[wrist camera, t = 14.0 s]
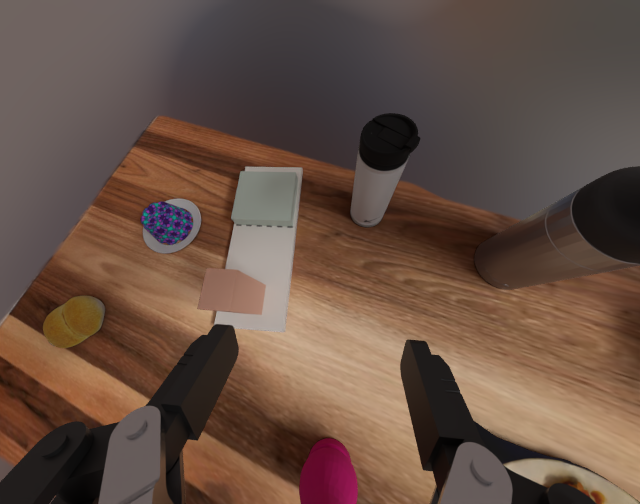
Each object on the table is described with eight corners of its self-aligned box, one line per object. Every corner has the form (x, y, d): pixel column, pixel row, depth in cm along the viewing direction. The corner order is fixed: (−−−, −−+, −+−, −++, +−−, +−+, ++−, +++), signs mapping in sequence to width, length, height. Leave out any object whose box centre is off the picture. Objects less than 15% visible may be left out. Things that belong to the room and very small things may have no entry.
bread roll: (114, 322, 41) (91, 322, 37) (67, 354, 40) (39, 358, 36) (99, 286, 43) (76, 282, 39) (55, 315, 42) (27, 314, 38)
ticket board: (247, 170, 49) (240, 158, 45) (302, 171, 48) (300, 159, 44) (217, 326, 39) (205, 326, 36) (285, 332, 38) (280, 332, 35)
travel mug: (371, 235, 42) (400, 163, 23) (343, 215, 44) (349, 132, 25) (391, 211, 43) (433, 124, 24) (363, 193, 45) (383, 98, 26)
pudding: (143, 210, 48) (121, 197, 43) (198, 193, 48) (182, 178, 43) (148, 262, 44) (123, 254, 39) (207, 243, 44) (190, 233, 39)
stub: (243, 283, 40) (206, 267, 28) (265, 285, 39) (237, 269, 28) (238, 313, 38) (197, 308, 27) (261, 314, 38) (229, 311, 26)
